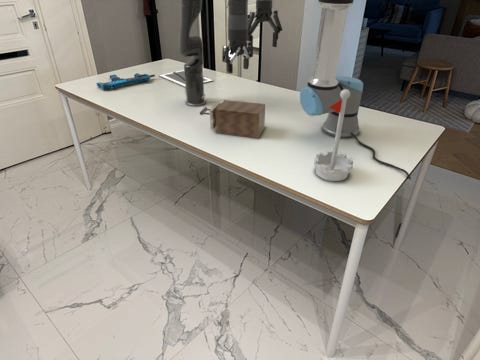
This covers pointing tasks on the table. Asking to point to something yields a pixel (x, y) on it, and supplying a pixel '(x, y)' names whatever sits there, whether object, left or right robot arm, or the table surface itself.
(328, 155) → the flag stand
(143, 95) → the table surface
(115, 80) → the submachine gun
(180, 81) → the tablet
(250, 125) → the cabinet
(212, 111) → the drawer
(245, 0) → the left robot arm
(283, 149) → the table surface
